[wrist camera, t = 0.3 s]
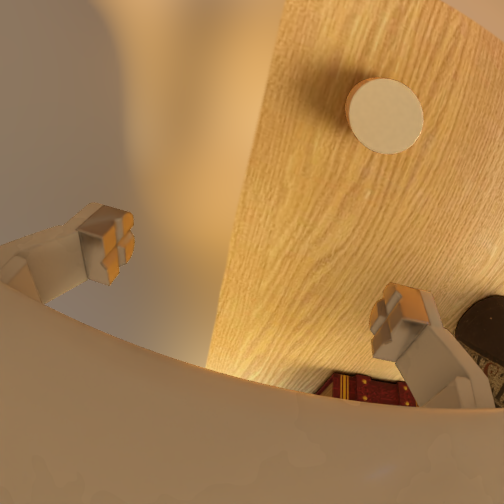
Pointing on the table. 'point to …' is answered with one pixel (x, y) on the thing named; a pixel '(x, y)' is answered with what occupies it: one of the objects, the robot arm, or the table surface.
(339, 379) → the decorative book
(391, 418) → the robot arm
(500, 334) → the container
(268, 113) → the table surface
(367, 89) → the beige cylinder disc
